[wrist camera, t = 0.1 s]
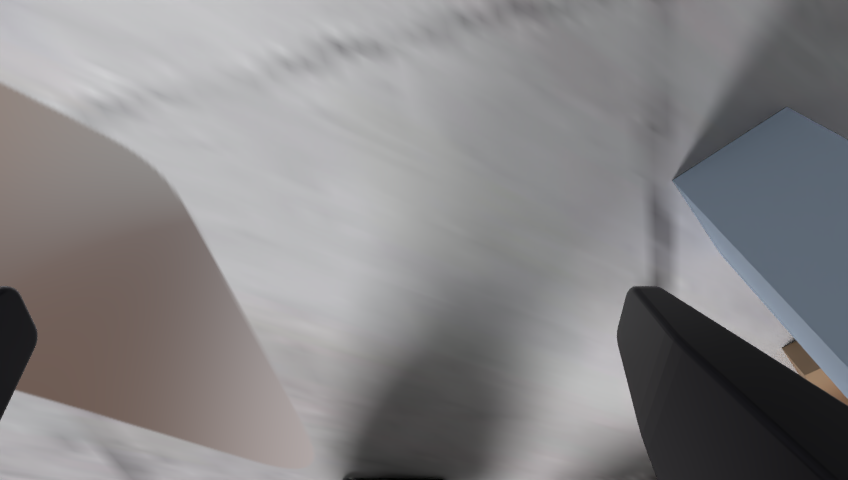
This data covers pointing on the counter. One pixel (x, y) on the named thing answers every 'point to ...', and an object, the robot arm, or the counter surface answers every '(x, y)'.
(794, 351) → the walnut block
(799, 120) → the slate blue block
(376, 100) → the counter surface
